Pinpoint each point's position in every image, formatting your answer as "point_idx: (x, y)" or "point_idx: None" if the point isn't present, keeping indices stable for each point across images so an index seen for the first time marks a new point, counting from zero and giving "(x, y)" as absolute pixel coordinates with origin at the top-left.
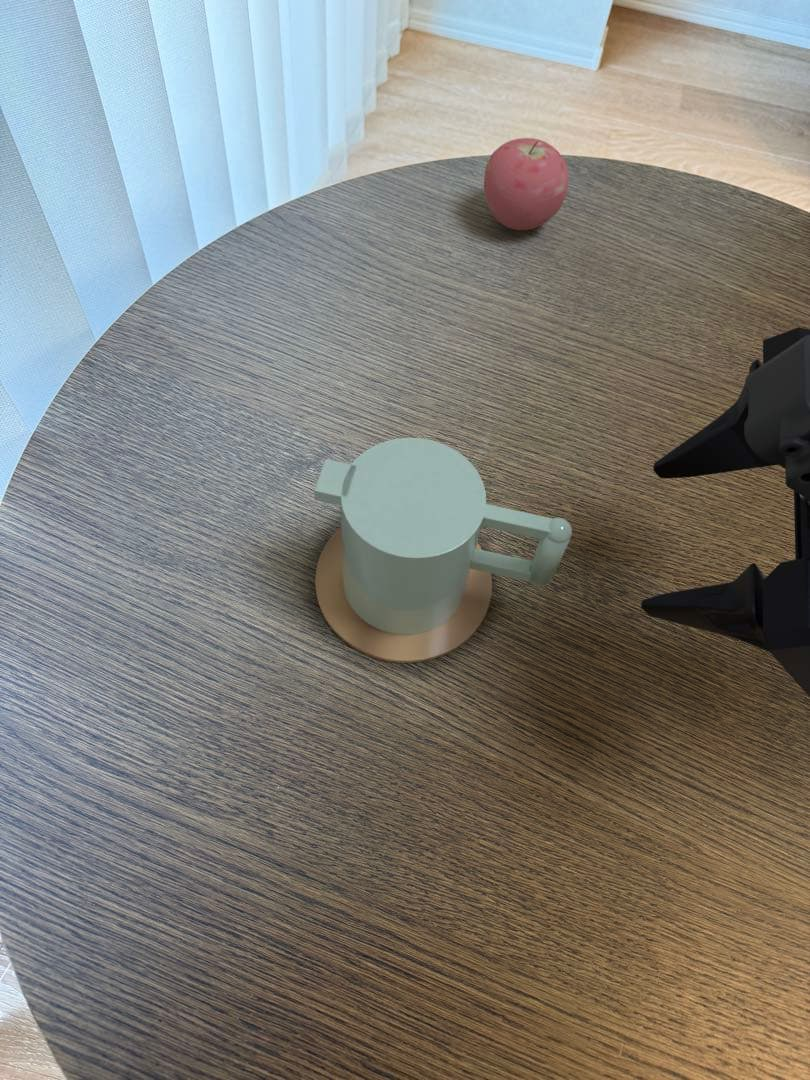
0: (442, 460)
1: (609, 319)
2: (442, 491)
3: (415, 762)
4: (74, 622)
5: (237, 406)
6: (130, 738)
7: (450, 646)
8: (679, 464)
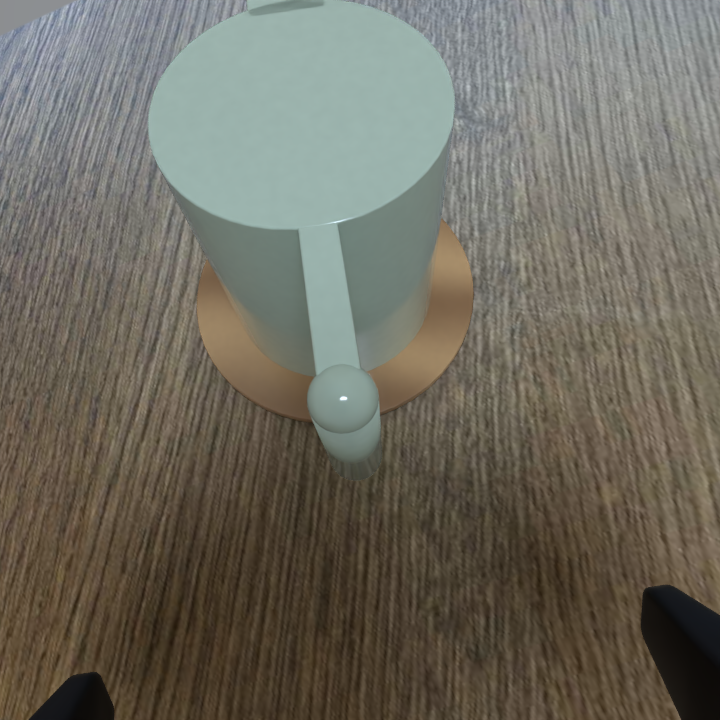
0: (409, 115)
1: None
2: (331, 141)
3: (59, 408)
4: (148, 16)
5: (508, 14)
6: (30, 114)
7: (244, 388)
8: (699, 680)
